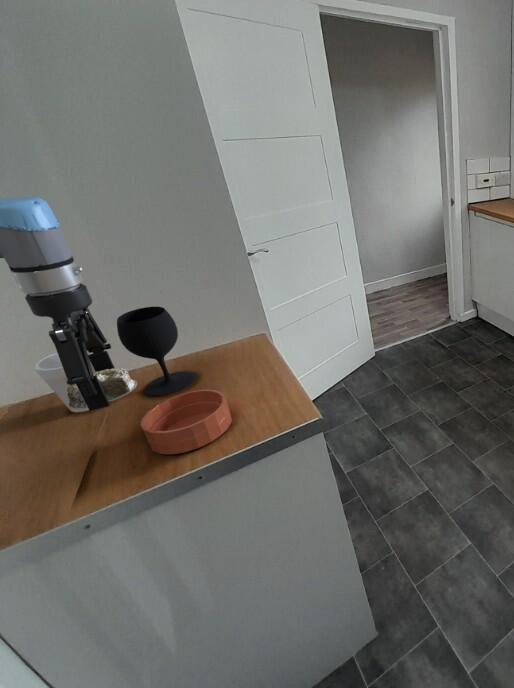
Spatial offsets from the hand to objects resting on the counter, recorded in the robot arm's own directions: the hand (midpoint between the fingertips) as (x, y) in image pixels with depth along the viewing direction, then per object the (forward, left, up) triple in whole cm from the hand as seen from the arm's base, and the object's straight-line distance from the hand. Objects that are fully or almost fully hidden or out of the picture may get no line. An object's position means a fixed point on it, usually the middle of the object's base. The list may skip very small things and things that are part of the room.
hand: (105, 393), depth 81 cm
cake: (0, 0, 0) cm, 0 cm away
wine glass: (+6, +20, -12) cm, 24 cm away
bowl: (+11, -4, -12) cm, 17 cm away
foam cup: (-9, +20, -12) cm, 25 cm away
